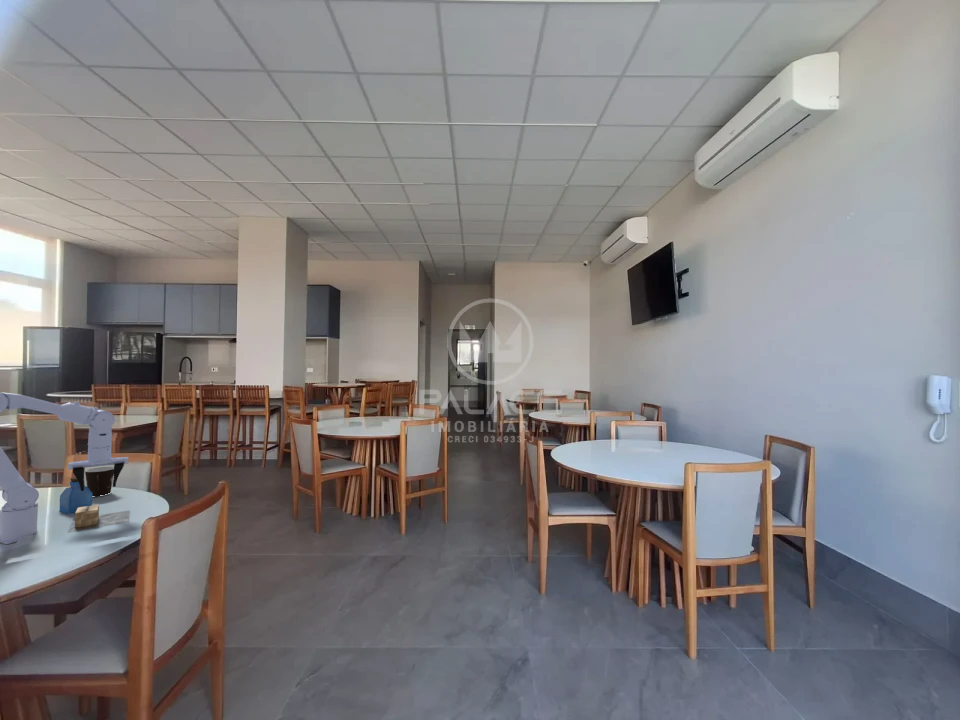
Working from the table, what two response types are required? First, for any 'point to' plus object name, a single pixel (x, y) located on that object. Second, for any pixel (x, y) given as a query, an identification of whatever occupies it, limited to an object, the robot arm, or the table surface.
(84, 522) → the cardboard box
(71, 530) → the hub plate
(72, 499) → the perfume bottle
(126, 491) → the table surface
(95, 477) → the coffee mug
